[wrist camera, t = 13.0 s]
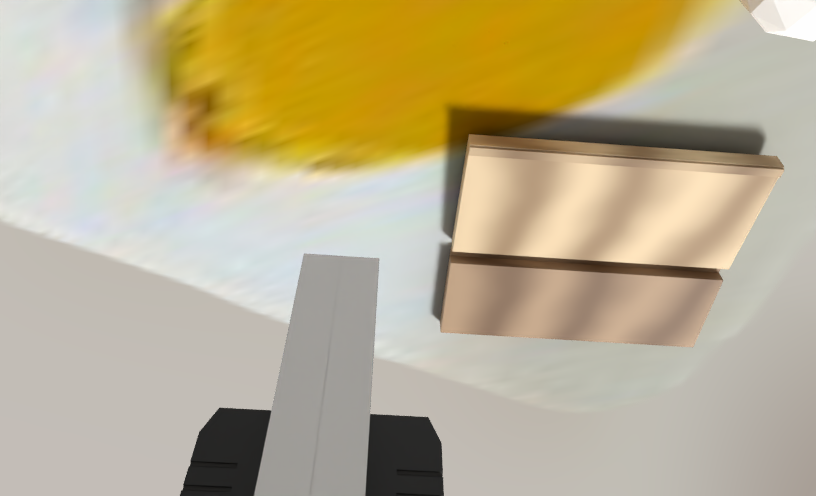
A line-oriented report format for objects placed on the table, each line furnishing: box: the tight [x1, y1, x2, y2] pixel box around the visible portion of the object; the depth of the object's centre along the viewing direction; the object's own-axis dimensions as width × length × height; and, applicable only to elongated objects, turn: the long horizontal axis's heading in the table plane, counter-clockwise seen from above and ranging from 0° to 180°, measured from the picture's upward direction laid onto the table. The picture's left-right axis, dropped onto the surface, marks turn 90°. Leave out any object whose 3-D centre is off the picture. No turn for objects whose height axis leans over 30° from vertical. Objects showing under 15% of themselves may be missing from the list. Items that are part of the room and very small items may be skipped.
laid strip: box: [440, 245, 723, 347], centre depth 52 cm, size 20×8×1 cm, turn 86°
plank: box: [452, 134, 784, 269], centre depth 46 cm, size 20×9×1 cm, turn 86°
